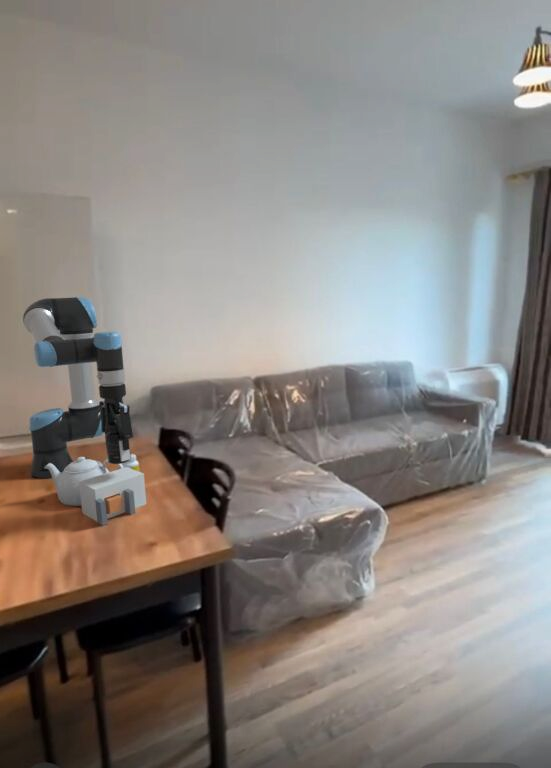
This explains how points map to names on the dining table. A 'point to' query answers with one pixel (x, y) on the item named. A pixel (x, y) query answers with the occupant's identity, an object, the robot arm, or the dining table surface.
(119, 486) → the box
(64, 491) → the teapot
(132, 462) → the supplement bottle
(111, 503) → the block
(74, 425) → the robot arm
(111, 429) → the supplement bottle
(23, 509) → the dining table surface
